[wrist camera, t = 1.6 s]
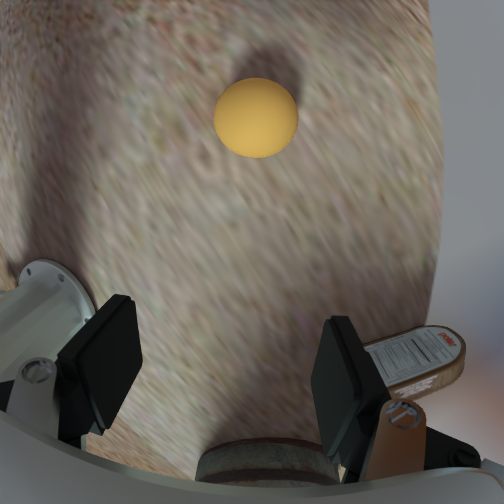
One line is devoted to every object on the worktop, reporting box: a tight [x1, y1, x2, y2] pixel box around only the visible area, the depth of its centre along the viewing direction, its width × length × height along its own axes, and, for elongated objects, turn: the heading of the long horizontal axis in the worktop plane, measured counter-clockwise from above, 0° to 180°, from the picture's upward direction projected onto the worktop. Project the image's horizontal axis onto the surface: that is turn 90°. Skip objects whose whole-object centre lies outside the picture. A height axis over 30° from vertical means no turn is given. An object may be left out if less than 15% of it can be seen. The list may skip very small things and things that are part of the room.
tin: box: [363, 325, 466, 401], centre depth 24 cm, size 15×3×8 cm, turn 104°
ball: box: [214, 78, 298, 158], centre depth 19 cm, size 6×6×6 cm
